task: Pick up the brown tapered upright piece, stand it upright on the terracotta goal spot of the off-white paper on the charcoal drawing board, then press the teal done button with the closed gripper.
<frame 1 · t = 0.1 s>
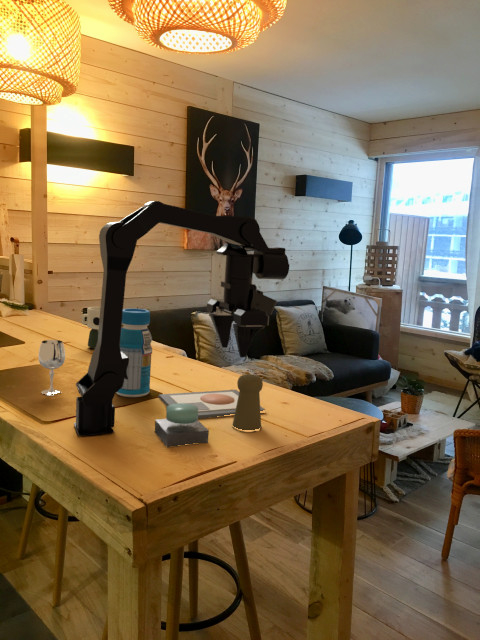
hand: (233, 352, 114), 15 cm above the table, tool pointing down, fingers open, 9 cm apart
done button: (182, 413, 103), point 5 cm above the table, slide at 0.0 cm
drawing board: (210, 405, 124), on the table
character mug: (97, 348, 175), on the table
beverage bottle: (132, 393, 130), on the table
button housing: (180, 437, 104), on the table
brown tapered upright piece: (246, 428, 112), on the table
wineglass: (51, 393, 125), on the table
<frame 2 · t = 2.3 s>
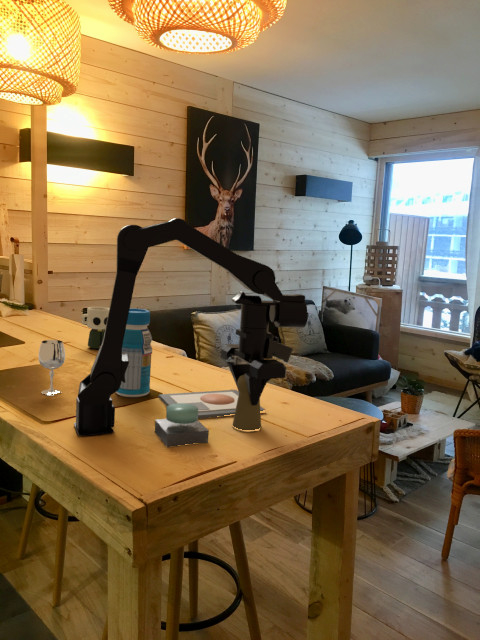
hand: (248, 401, 111), 6 cm above the table, tool pointing down, fingers closed on brown tapered upright piece, 5 cm apart
brown tapered upright piece: (246, 427, 112), on the table, touching gripper
everything else where it was.
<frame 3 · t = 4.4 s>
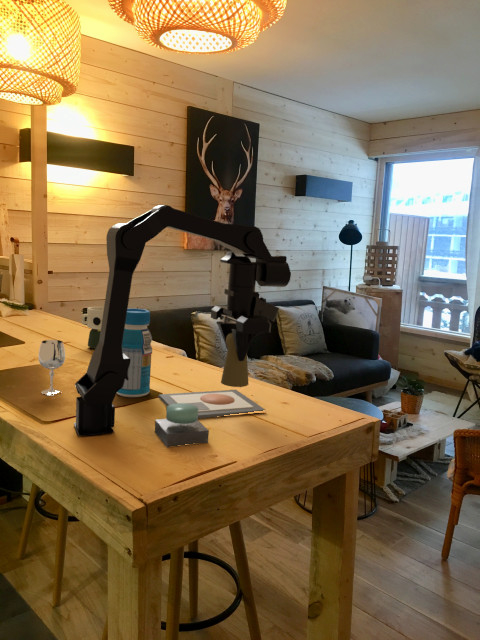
hand: (236, 358, 116), 13 cm above the table, tool pointing down, fingers closed on brown tapered upright piece, 5 cm apart
brown tapered upright piece: (234, 383, 117), point 7 cm above the table, touching gripper
everything else where it was.
when the fingers open (7 cm above the table, at t = 6.4 s): brown tapered upright piece stays where it is, resting on drawing board.
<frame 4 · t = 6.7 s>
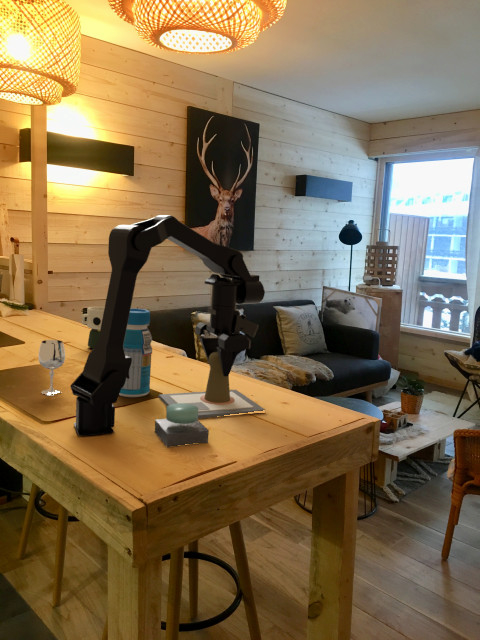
hand: (219, 371, 125), 8 cm above the table, tool pointing down, fingers open, 8 cm apart
brown tapered upright piece: (217, 399, 126), point 1 cm above the table, touching drawing board
everything else where it was.
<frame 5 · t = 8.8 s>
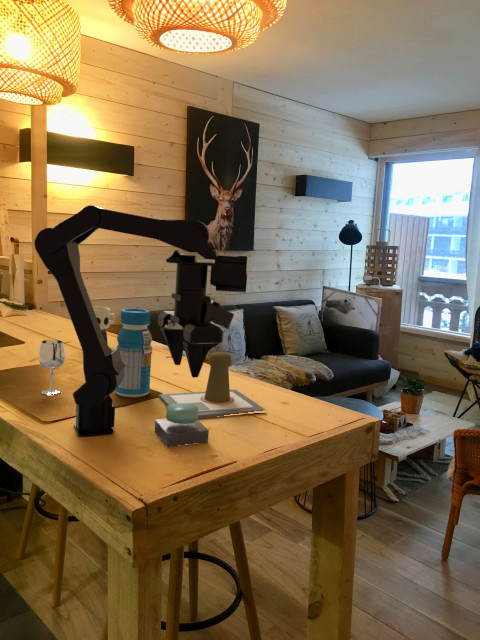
hand: (185, 370, 102), 13 cm above the table, tool pointing down, fingers open, 9 cm apart
nothing on the table moved.
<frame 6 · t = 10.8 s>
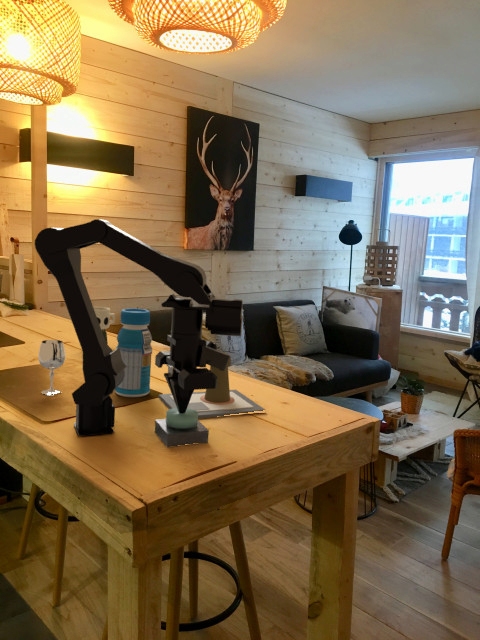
hand: (181, 412, 103), 5 cm above the table, tool pointing down, fingers closed, pressing on done button
done button: (181, 417, 103), point 4 cm above the table, slide at 0.9 cm, touching gripper
everything else where it was.
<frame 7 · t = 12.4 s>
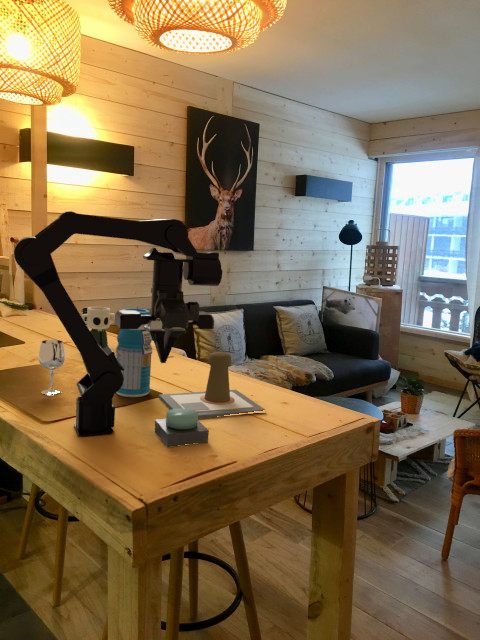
hand: (162, 362, 107), 13 cm above the table, tool pointing down, fingers closed
done button: (181, 418, 103), point 4 cm above the table, slide at 1.0 cm
everything else where it was.
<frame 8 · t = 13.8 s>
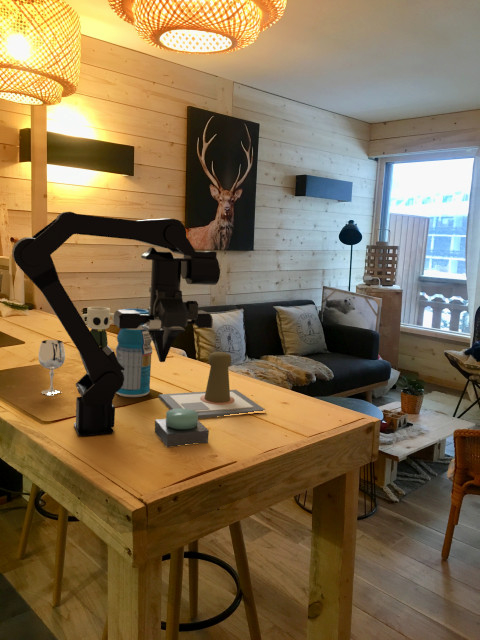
hand: (161, 361, 108), 13 cm above the table, tool pointing down, fingers closed
nothing on the table moved.
at the end: brown tapered upright piece 0.0 cm from the target spot on the drawing board, point 0.9 cm above the drawing board's base; brown tapered upright piece tilted 0°; done button slide at 1.0 cm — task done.
